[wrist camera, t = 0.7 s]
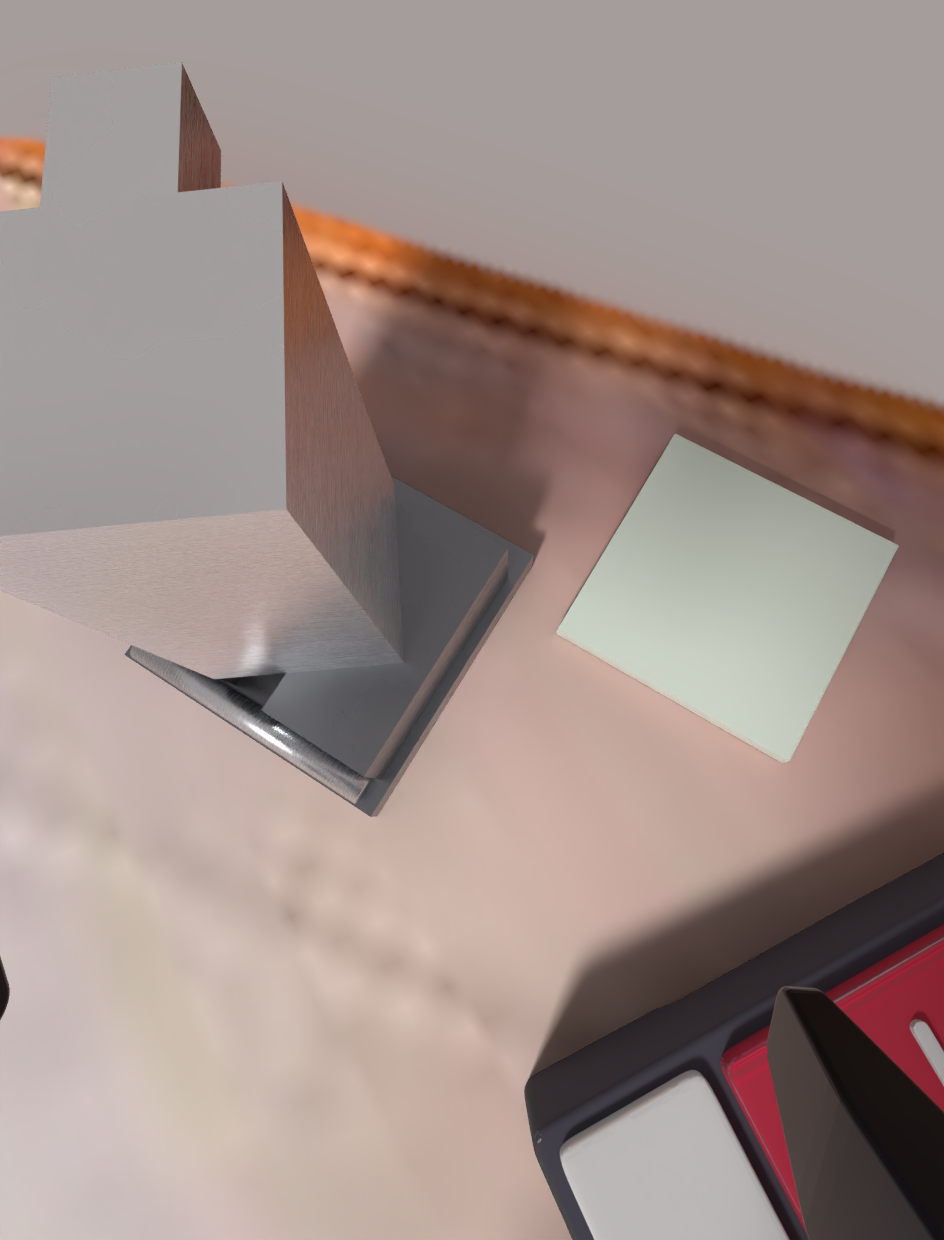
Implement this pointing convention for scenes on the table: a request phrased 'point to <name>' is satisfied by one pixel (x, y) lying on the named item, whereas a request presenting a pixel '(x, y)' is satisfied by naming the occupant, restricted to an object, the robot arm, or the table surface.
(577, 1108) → the calculator
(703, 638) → the pad
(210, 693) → the vise
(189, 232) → the grey stepped block
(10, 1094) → the table surface
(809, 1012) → the robot arm
